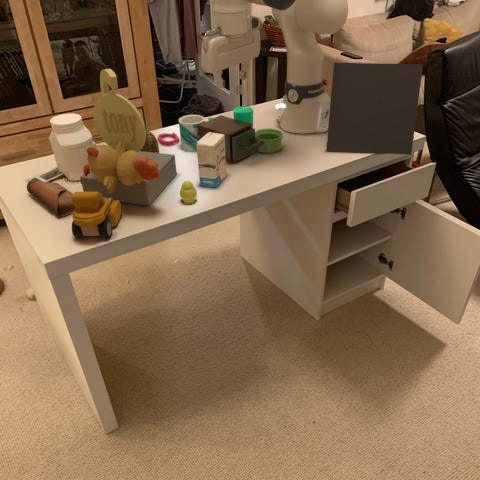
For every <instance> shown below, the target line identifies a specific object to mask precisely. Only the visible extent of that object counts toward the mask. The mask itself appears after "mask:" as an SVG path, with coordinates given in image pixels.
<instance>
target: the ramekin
mask: <svg viewBox="0 0 480 480" xmlns="http://www.w3.org/2000/svg"><path fill="white" fill-rule="evenodd" d="M283 137H284V133H283V132H282V130H280V129H277V128H261V129H258V130H255V140H258V141H261V140H263V141H264V145H262V146H260V147H258V148H256V149H255V151H257V152H259V153H262V154H263V153H264V154H273V153H276V152H279V151H280V150H281V149H282V142H283Z"/></svg>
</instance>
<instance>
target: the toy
mask: <svg viewBox="0 0 480 480" xmlns="http://www.w3.org/2000/svg"><path fill="white" fill-rule="evenodd" d="M87 153H88V156H87V160H88V165H85V166H84V168H83V171H84V175H85V176H86V177H87V175H88V174H90V170H91V172H92V174H93V175H94V176H95V177H96V179H97V180H98V181H99V182H101V183H103V184H104V186H106V190H107V191H108V193H109V194H111V193H112V192H114V191H115V187H116V182H118V181H119V180H120V182H122V183H123V184H124V185H126V186H132V185H135V184H137V183H138V184H140V183H141V182H142V181H144V179H145V180H150V181H152V180H154V179H155V178H159V177H160V175H161V172H160V170H159V169H158V163H157V162H156V161H154V160H151V159H150V158H148V157H147V156H145V155H140V154H138V153H137V152H136V151H132V150H130V151H127V146H126V145H125V143H124V142H122V140H121V141H119V142H118V144H117V145H116V146H115V149H114V148H112V147H110V146H109V145H108V144H96V146H95V147H89V148H88V149H87Z"/></svg>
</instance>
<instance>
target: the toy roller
mask: <svg viewBox="0 0 480 480" xmlns="http://www.w3.org/2000/svg"><path fill="white" fill-rule="evenodd" d="M72 194H73V195H72V196H71V199H72V202H73V204H74V205H75V208H76V209H75V210H74V212H73V214H72V222H71V233H72V235H73V237H74V238H85V237H100V238H111V237H112V234H113V227H116V226H117V225H118V222H119V221H120V217H121V215H122V212H123V208H122V202H120V201H115V200H114V198H103V196H102V194H101V193H100V192H84V191H75V192H73V193H72Z"/></svg>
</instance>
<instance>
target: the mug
mask: <svg viewBox="0 0 480 480" xmlns="http://www.w3.org/2000/svg"><path fill="white" fill-rule="evenodd" d="M213 118H214V117H212V116H210V117H207V118H206V117H205V116H202V115H201V114H187V115H183V116H181V117H179V118H178V127H179V136H180V137H179V138H180V146H181V149H182V150H184V151H186V152H197V146H196V144H197V142H198V141H199V130H198V125H200V124H202V123H204V122H207V121H209V120H211V119H213Z"/></svg>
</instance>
